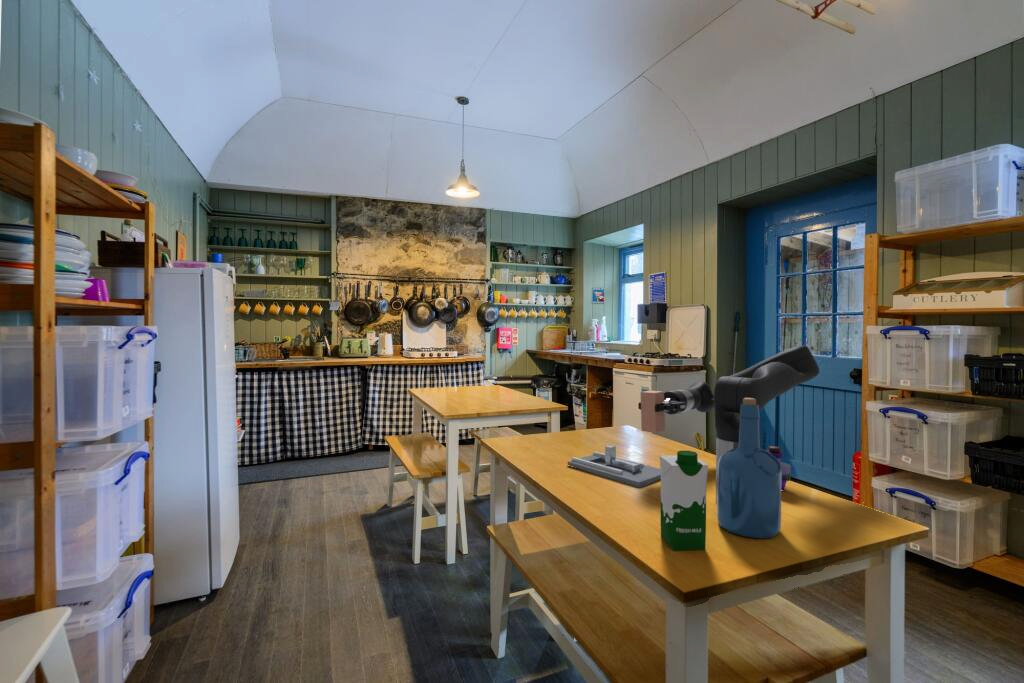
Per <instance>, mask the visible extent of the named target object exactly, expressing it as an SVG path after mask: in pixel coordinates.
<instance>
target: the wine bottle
mask: <svg viewBox="0 0 1024 683" xmlns="http://www.w3.org/2000/svg"><path fill="white" fill-rule="evenodd" d="M738 414H739V415H738V419H739V420H740V423H739V442H738V446H737V447H736V448H735V449H732V450H730V451H727V452H726V453H724V454H723V455H721V457H720V458H719V460H718V473H717V503H716V518H717V521H718V524H719V527H721V528H722V529H724V530H726V531H728V532H730V533H732V534H735V535H738V536H742V537H745V538H752V539H753V538H754V539H769V538H774V537H775V536H777V535H778V534H779V533H780V531H781V530H782V492H781V487H782V470H781V464H780V462H781V461H780V462H779V461H778V459H777V458H776V457H775V456H773V455H772V454H771V453H769V452H768V451H766V450H767V449H763V448H761V446H760V444H761V441H760V420H761V418H760V410H759V406H758V405H757V404H756V399H754V398H744V399H743V403H742V404H741V405H740V412H739V413H738Z"/></svg>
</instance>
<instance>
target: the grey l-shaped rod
mask: <svg viewBox="0 0 1024 683" xmlns="http://www.w3.org/2000/svg"><path fill="white" fill-rule="evenodd" d="M604 454H605V464H607V465H613V466H617V467H621V468H624V469H628V470H632V472H637V471H640V470H642V463H643V462H639V463H638V464H635V463H632V462H628V461H624V460H620V459H616V457H617V445H612V444H610V445H606V446H605V447H604Z"/></svg>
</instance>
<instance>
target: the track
mask: <svg viewBox="0 0 1024 683" xmlns="http://www.w3.org/2000/svg"><path fill="white" fill-rule="evenodd" d="M616 459H620V460H624V461H628V462H632V463H635V464H638V463H640V462H639V461H635V460H630V459H627V458H623V457H619V456H616ZM641 463H642V470H640V471H637V472H632V470H628V469H624V468H621V467H617V466H613V465H607V464H605V453H604V452H598V451H593V452H592V454H591V455H587V456H583V457H580V458H579V457H575V456H573V457H571V460H569V461H567V466H568V465H570V466H573V467H576V468H579V469H582V470H585V471H584V472H586V471H588V472H587V473H589V472H591V473H590V474H592V473H594V474H593V475H596V474H597V476H599V475H600V476H599V477H602V476H603V477H602V478H606V479H609V478H610V479H609V480H612V479H613V480H612V481H616V482H619V483H622V482H623V483H622V484H626V485H629V486H632V485H633V486H632V487H636V488H642V487H644V486H647V485H650V484H653V483H655V482H657V481H661V480H660V479H661V469H660V467H659V468H658V467H655V466H651V465H647V464H644V463H643V462H641ZM576 468H575V469H576ZM579 469H578V470H579ZM582 470H581V471H582Z"/></svg>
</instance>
